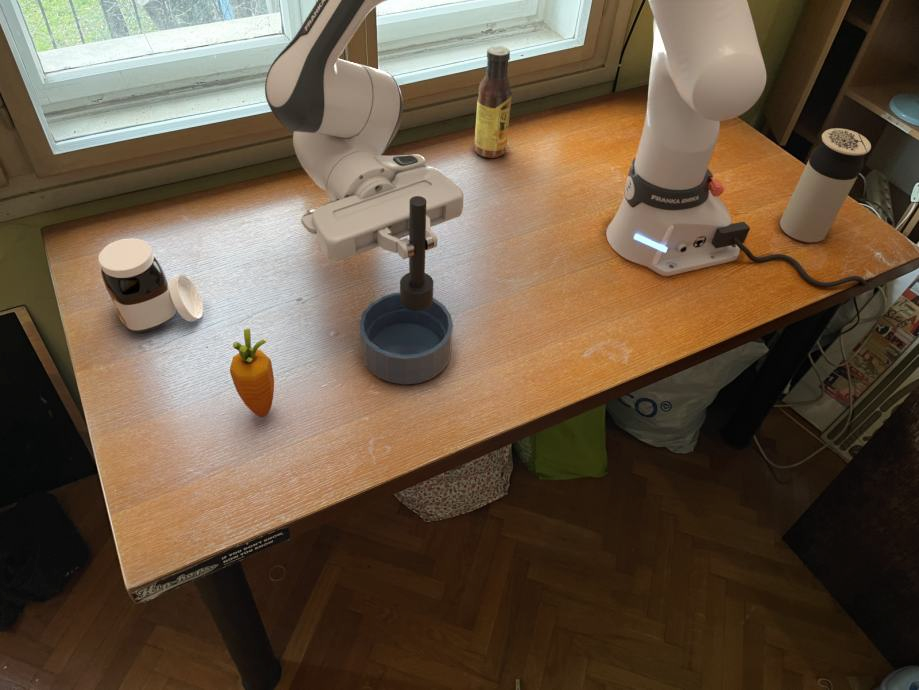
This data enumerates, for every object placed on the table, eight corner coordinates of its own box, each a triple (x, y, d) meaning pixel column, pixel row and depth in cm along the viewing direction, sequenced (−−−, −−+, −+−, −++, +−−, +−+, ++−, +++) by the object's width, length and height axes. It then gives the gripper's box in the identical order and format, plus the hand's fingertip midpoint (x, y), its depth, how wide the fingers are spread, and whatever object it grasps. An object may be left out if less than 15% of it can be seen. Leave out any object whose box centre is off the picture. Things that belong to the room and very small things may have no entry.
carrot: (257, 396, 97) (237, 318, 86) (289, 408, 96) (273, 330, 85) (236, 423, 94) (212, 345, 83) (268, 436, 93) (249, 359, 82)
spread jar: (110, 305, 107) (83, 244, 99) (183, 276, 112) (164, 216, 104) (140, 354, 101) (114, 293, 93) (216, 321, 106) (198, 261, 98)
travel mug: (779, 238, 126) (822, 148, 113) (778, 212, 131) (819, 123, 118) (826, 248, 125) (875, 158, 112) (823, 221, 130) (870, 132, 117)
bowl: (444, 317, 109) (445, 288, 105) (457, 382, 100) (459, 353, 96) (359, 324, 107) (356, 295, 103) (365, 391, 99) (363, 362, 94)
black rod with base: (430, 287, 99) (434, 189, 87) (434, 310, 96) (439, 211, 84) (398, 289, 98) (397, 190, 86) (402, 312, 95) (401, 213, 83)
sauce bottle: (502, 162, 138) (513, 62, 124) (470, 157, 139) (477, 57, 124) (508, 144, 143) (518, 45, 128) (477, 139, 143) (484, 40, 129)
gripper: (292, 195, 90) (344, 257, 83) (430, 150, 99) (488, 203, 91) (298, 234, 95) (348, 297, 87) (429, 189, 103) (484, 242, 96)
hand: (421, 248), depth 89 cm, fingers closed on black rod with base, 2 cm apart
